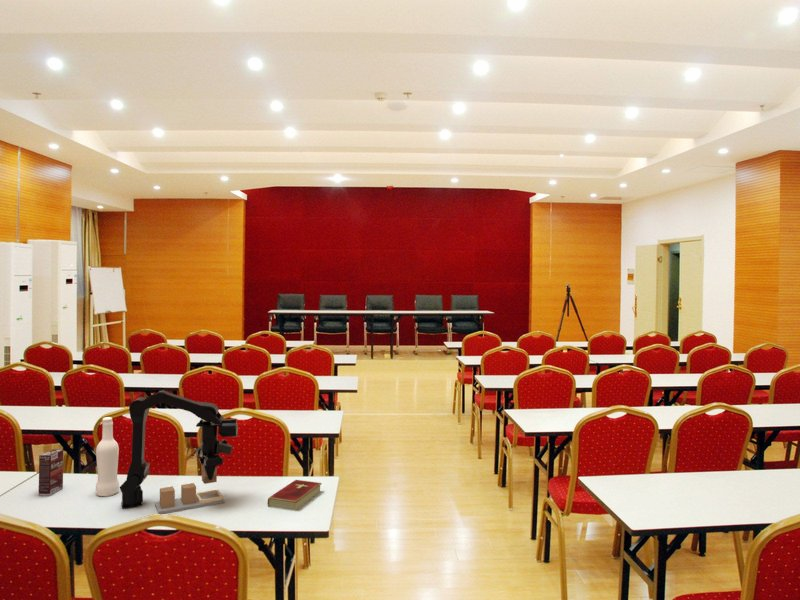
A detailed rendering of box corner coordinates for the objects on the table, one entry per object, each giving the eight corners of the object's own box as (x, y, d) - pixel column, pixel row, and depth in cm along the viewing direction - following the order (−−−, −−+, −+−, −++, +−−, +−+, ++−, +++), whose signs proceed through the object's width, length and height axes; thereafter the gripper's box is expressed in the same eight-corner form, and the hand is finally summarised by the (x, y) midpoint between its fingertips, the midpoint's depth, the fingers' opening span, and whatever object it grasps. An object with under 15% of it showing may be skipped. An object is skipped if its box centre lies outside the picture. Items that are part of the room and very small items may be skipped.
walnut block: (216, 481, 212) (216, 466, 212) (204, 483, 210) (204, 468, 210) (213, 478, 216) (214, 463, 216) (201, 480, 214) (202, 464, 214)
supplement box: (50, 496, 215) (50, 455, 215) (37, 496, 215) (38, 455, 215) (64, 488, 224) (64, 449, 224) (52, 488, 224) (52, 449, 224)
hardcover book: (267, 508, 208) (267, 496, 208) (294, 489, 228) (294, 478, 228) (296, 512, 204) (296, 500, 204) (321, 492, 224) (321, 482, 224)
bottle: (123, 490, 223) (123, 415, 222) (110, 497, 215) (111, 420, 214) (104, 489, 224) (104, 414, 223) (91, 496, 216) (91, 419, 215)
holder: (158, 514, 199) (158, 495, 199) (155, 505, 208) (155, 486, 208) (224, 502, 211) (224, 484, 211) (218, 494, 220) (218, 476, 220)
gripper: (237, 440, 209) (236, 481, 209) (224, 429, 225) (224, 467, 225) (206, 444, 203) (205, 486, 203) (196, 432, 219) (195, 472, 219)
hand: (209, 477), depth 213 cm, fingers closed on walnut block, 4 cm apart
